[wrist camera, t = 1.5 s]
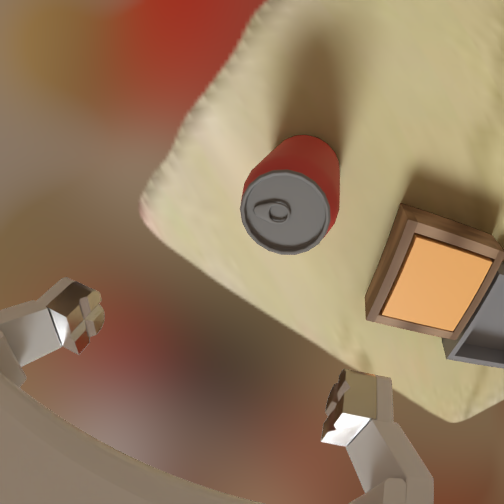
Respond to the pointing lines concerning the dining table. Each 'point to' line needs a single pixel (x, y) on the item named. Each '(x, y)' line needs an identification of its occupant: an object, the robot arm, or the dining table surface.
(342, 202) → the dining table surface
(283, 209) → the beer can
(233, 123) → the dining table surface
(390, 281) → the checker stand
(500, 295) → the tray
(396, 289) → the orange square panel
